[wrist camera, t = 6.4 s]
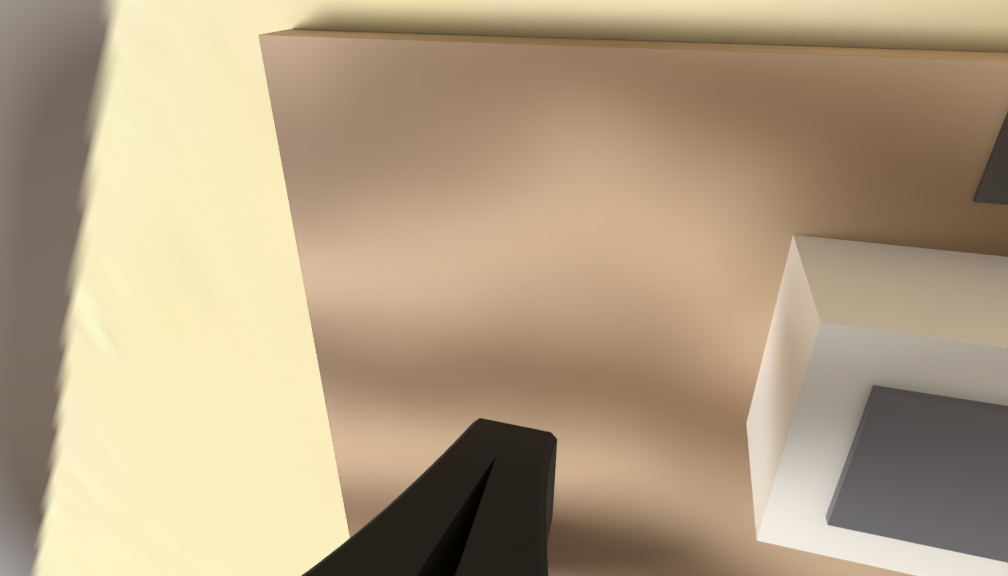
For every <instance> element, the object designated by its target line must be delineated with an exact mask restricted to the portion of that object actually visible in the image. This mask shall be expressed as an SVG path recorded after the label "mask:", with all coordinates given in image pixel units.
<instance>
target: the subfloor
mask: <svg viewBox="0 0 1008 576" xmlns="http://www.w3.org/2000/svg"><path fill="white" fill-rule="evenodd" d="M259 40H260V46H261V51H262V57H263V62H264V68H265V73H266V79H267V84H268V90H269V95H270V101H271V106H272V112H273V117H274V123H275V128H276V134H277V139H278V145H279V150H280V156H281V161H282V167H283V172H284V178H285V183H286V189H287V194H288V200H289V205H290V211H291V216H292V222H293V227H294V233H295V238H296V244H297V249H298V255H299V260H300V266H301V271H302V277H303V282H304V287H305V293H306V298H307V304H308V309H309V315H310V320H311V326H312V331H313V337H314V342H315V348H316V353H317V359H318V364H319V370H320V375H321V381H322V386H323V392H324V397H325V403H326V408H327V414H328V419H329V425H330V430H331V436H332V441H333V447H334V452H335V458H336V463H337V469H338V474H339V480H340V485H341V491H342V496H343V502H344V507H345V513H346V518H347V524H348V529H349V535H350V538H351V537H352V536H353V535H354V534H355V533H357V532H358V531H359V530H360V529H361V528H363V527H364V526H365V525H366V524H367V523H369V522H370V521H371V520H372V519H373V518H374V517H376V516H377V515H378V514H379V513H380V512H382V511H383V510H384V509H385V508H386V507H387V506H388V505H389V504H391V503H392V502H393V501H394V500H395V499H396V498H397V497H398V496H399V495H400V494H401V493H402V492H404V491H405V490H406V489H407V488H408V487H409V486H410V485H411V484H412V483H413V482H414V481H415V480H416V479H418V478H419V477H420V476H421V475H422V474H423V473H424V472H425V471H426V470H427V469H428V468H429V467H430V466H431V465H432V464H433V463H434V462H435V461H436V460H437V459H438V458H439V457H440V456H441V455H442V454H443V453H444V452H445V451H446V450H447V449H448V448H449V447H450V446H451V445H452V444H453V443H454V442H455V441H456V440H457V439H458V438H459V437H460V436H461V435H462V434H463V432H464V431H465V430H466V429H467V428H468V427H469V426H470V425H471V424H472V423H473V422H474V421H476V420H477V419H479V418H483V419H488V420H493V421H498V422H503V423H508V424H513V425H518V426H523V427H528V428H533V429H538V430H543V431H548V432H551V433H552V434H553V435H554V436H555V437H556V438H557V453H556V469H555V485H554V502H553V517H552V522H551V528H550V533H549V538H548V544H547V560H548V576H915V575H911V574H906V573H901V572H897V571H892V570H888V569H883V568H879V567H874V566H870V565H865V564H861V563H856V562H852V561H847V560H843V559H838V558H834V557H829V556H824V555H820V554H815V553H811V552H806V551H802V550H797V549H793V548H788V547H784V546H779V545H775V544H770V543H766V542H761V541H757V540H756V528H755V517H754V506H753V494H752V483H751V471H750V460H749V448H748V437H747V425H746V423H747V419H748V415H749V411H750V407H751V403H752V399H753V395H754V391H755V387H756V382H757V378H758V374H759V370H760V366H761V362H762V358H763V354H764V350H765V346H766V342H767V338H768V334H769V330H770V326H771V322H772V318H773V314H774V310H775V306H776V302H777V298H778V294H779V290H780V285H781V281H782V277H783V273H784V269H785V265H786V261H787V257H788V253H789V249H790V245H791V241H792V237H793V235H801V236H810V237H820V238H830V239H839V240H849V241H859V242H868V243H878V244H888V245H898V246H907V247H917V248H927V249H936V250H946V251H956V252H965V253H975V254H985V255H994V256H1004V257H1008V53H996V52H966V51H935V50H904V49H874V48H843V47H813V46H782V45H751V44H721V43H690V42H660V41H629V40H599V39H568V38H537V37H507V36H476V35H446V34H415V33H384V32H354V31H323V30H293V29H289V30H283V31H278V32H272V33H267V34H261V35H259Z"/></svg>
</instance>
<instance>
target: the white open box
mask: <svg viewBox="0 0 1008 576" xmlns="http://www.w3.org/2000/svg"><path fill="white" fill-rule="evenodd" d="M746 425H747V437H748V448H749V460H750V471H751V483H752V494H753V506H754V517H755V528H756V540H757V541H761V542H766V543H770V544H775V545H779V546H784V547H788V548H793V549H797V550H802V551H806V552H811V553H815V554H820V555H824V556H829V557H834V558H838V559H843V560H847V561H852V562H856V563H861V564H865V565H870V566H874V567H879V568H883V569H888V570H892V571H897V572H901V573H906V574H911V575H915V576H1008V257H1004V256H994V255H985V254H975V253H965V252H956V251H946V250H936V249H927V248H917V247H907V246H898V245H888V244H878V243H868V242H859V241H849V240H839V239H830V238H820V237H810V236H801V235H793V237H792V241H791V245H790V249H789V253H788V257H787V261H786V265H785V269H784V273H783V277H782V281H781V285H780V290H779V294H778V298H777V302H776V306H775V310H774V314H773V318H772V322H771V326H770V330H769V334H768V338H767V342H766V346H765V350H764V354H763V358H762V362H761V366H760V370H759V374H758V378H757V382H756V387H755V391H754V395H753V399H752V403H751V407H750V411H749V415H748V419H747V423H746Z"/></svg>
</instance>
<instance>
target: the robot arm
mask: <svg viewBox="0 0 1008 576" xmlns="http://www.w3.org/2000/svg"><path fill="white" fill-rule="evenodd" d="M556 453H557V438H556V437H555V436H554V435H553V434H552V433H551V432H548V431H543V430H538V429H533V428H528V427H523V426H518V425H513V424H508V423H503V422H498V421H493V420H488V419H483V418H479V419H477V420H476V421H474V422H473V423H472V424H471V425H470V426H469V427H468V428H467V429H466V430H465V431H464V432H463V434H462V435H461V436H460V437H459V438H458V439H457V440H456V441H455V442H454V443H453V444H452V445H451V446H450V447H449V448H448V449H447V450H446V451H445V452H444V453H443V454H442V455H441V456H440V457H439V458H438V459H437V460H436V461H435V462H434V463H433V464H432V465H431V466H430V467H429V468H428V469H427V470H426V471H425V472H424V473H423V474H422V475H421V476H420V477H419V478H418V479H416V480H415V481H414V482H413V483H412V484H411V485H410V486H409V487H408V488H407V489H406V490H405V491H404V492H402V493H401V494H400V495H399V496H398V497H397V498H396V499H395V500H394V501H393V502H392V503H391V504H389V505H388V506H387V507H386V508H385V509H384V510H383V511H382V512H380V513H379V514H378V515H377V516H376V517H374V518H373V519H372V520H371V521H370V522H369V523H367V524H366V525H365V526H364V527H363V528H361V529H360V530H359V531H358V532H357V533H355V534H354V535H353V536H352V537H351V538H349V539H348V540H347V541H346V542H345V543H344V544H342V545H341V546H340V547H339V548H337V549H336V550H335V551H333V552H332V553H331V554H330V555H328V556H327V557H326V558H324V559H323V560H322V561H321V562H319V563H318V564H317V565H315V566H314V567H313V568H311V569H310V570H309V571H307V572H306V573H305V574H303V575H302V576H548V560H547V544H548V538H549V533H550V528H551V522H552V517H553V502H554V485H555V469H556Z"/></svg>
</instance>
